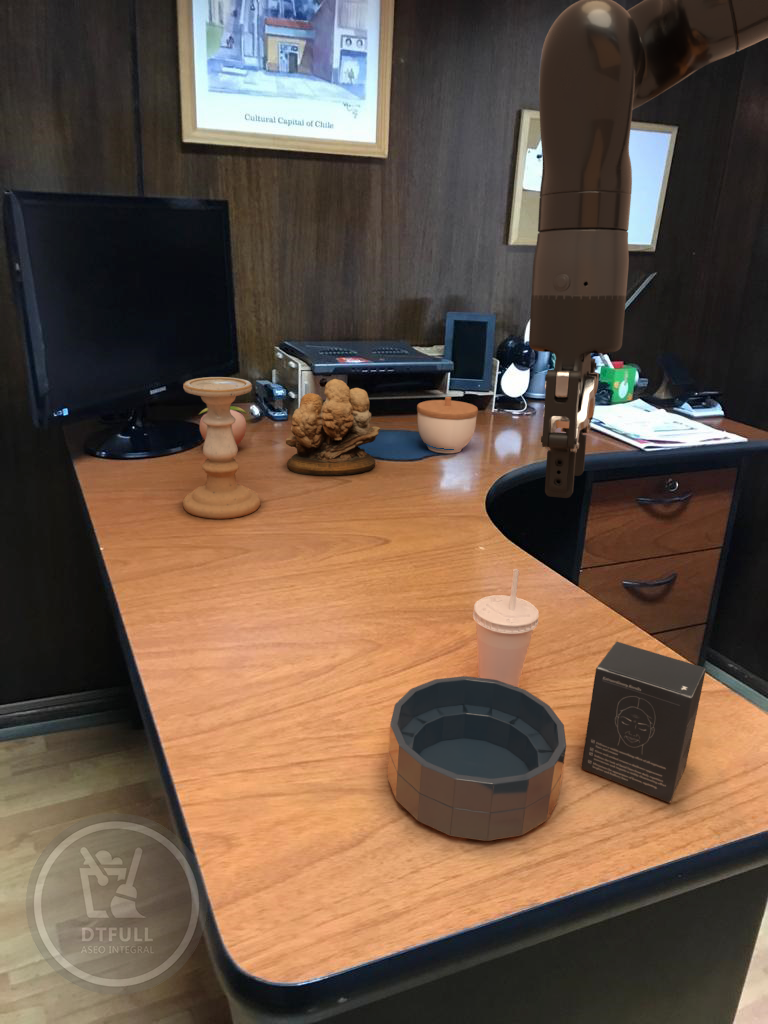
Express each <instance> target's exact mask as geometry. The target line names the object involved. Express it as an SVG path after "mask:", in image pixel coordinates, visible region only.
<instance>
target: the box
mask: <svg viewBox="0 0 768 1024" xmlns="http://www.w3.org/2000/svg"><path fill="white" fill-rule="evenodd" d="M706 671H707V669H706V667H705V666H701V665H699V664H695V663H691V662H688V661H683V660H680V659H677V658H675V657H674V658H673V657H670V656H667V655H663V654H660V653H658V652H654V651H650V650H647V649H643V648H640V647H637V646H634V645H631V644H630V645H629V644H627V643H624V642H620V641H616V642H614V644H612V647H611V648H610V649H609V650H608V652H607V653H606V654H605V656H604V657H603V659H602V660H601V661H600V662H599V664H598V665H597V666H596V668H595V673H594V678H593V684H592V685H593V687H592V692H591V700H590V706H589V707H590V708H589V713H588V718H587V726H586V734H585V741H584V747H583V753H582V760H581V769H582V770H583V771H586V772H588V773H592V774H595V775H598V776H599V777H602V778H605V779H607V780H610V781H612V782H615V783H618V784H621V785H622V786H625V787H628V788H631V789H633V790H636V791H638V792H641V793H643V794H646V795H648V796H650V797H654V798H656V799H659V800H661V801H664V802H666V803H671V802H672V800H673V798H674V795H675V793H676V791H677V788H678V786H679V784H680V781H681V779H682V776H683V775H684V773H685V769H686V768H687V762H688V758H689V753H690V749H691V744H692V739H693V733H694V729H695V726H696V725H695V724H696V719H697V715H698V711H699V710H698V709H699V705H700V700H701V695H702V692H703V691H702V690H703V687H704V681H705V676H706Z"/></svg>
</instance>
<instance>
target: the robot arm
mask: <svg viewBox="0 0 768 1024" xmlns="http://www.w3.org/2000/svg"><path fill="white" fill-rule="evenodd" d="M766 39H768V0H642V1H640V2H639V3H637V4H635V5H634V6H631V8H629V9H627V10H626V9H625V8H624V7H623V6H622V5H620V4H619V3H617V1H614V0H578V1H575V2H574V3H573V4H570V5H569V6H568V7H567V8H566V9H565V10H563V11H562V12H561V13H560V14H559V15H558V17H556V19H555V20H554V22H553V23H552V24H551V26H550V28H549V29H548V32H547V34H546V36H545V38H544V41H543V45H542V48H541V54H540V58H539V59H540V61H539V68H538V69H539V71H538V106H539V107H538V108H539V110H538V111H539V128H540V129H539V130H540V143H541V144H540V145H541V155H542V156H541V157H542V170H541V181H540V189H539V202H538V219H537V220H538V222H537V232H538V233H537V236H536V244H535V250H534V256H533V261H532V274H531V275H532V276H531V293H530V294H531V295H530V314H529V315H530V316H529V331H528V332H529V333H528V345H529V348H530V349H531V350H533V351H536V352H542V353H552V354H554V356H555V361H554V369H547V372H546V374H545V376H544V381H545V382H544V391H545V393H544V395H545V396H544V407H543V414H542V419H543V423H542V424H543V425H542V435H541V436H540V443H541V447H542V448H544V451H545V452H546V466H545V484H544V493H545V495H546V496H547V497H550V498H561V499H568V498H571V496H572V495H573V493H574V488H575V487H574V486H575V477H580V476H582V475H583V473H584V471H585V464H586V463H585V461H586V448H587V437H588V435H587V434H589V430H591V426H592V425H591V423H592V421H593V419H594V414H595V409H596V394H597V391H598V386H599V372H596V369H597V362H596V358H592V354H611V353H615V352H618V351H619V350H620V349H621V348H622V347H623V339H624V338H623V337H624V326H625V313H626V312H625V311H626V303H627V292H628V291H627V289H628V279H629V278H628V277H629V266H630V265H629V263H630V257H629V254H630V253H629V232H628V231H629V225H630V213H631V201H632V191H633V190H632V188H633V170H632V163H631V157H630V137H631V127H632V119H633V118H632V117H633V110H635V109H637V108H639V107H641V106H643V105H644V104H646V103H648V102H650V101H651V100H652V99H653V100H654V98H656V97H658V96H659V95H661V94H663V93H665V92H666V91H667V90H669V89H671V88H673V87H674V86H675V85H677V84H679V83H680V82H682V81H684V80H685V79H687V78H688V77H689V76H691V75H692V74H694V73H695V72H697V71H698V70H700V69H702V68H704V67H706V66H707V65H710V64H712V63H714V62H716V61H719V60H722V59H724V58H727V57H729V56H732V55H734V54H735V53H736V52H740V51H742V50H745V49H746V48H749V47H751V46H753V45H756V44H758V43H759V42H762V41H764V40H766ZM557 429H560V432H557V431H556V430H557Z"/></svg>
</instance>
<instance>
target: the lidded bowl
mask: <svg viewBox="0 0 768 1024" xmlns="http://www.w3.org/2000/svg"><path fill="white" fill-rule="evenodd" d="M416 412H417V414H416V415H417V416H416V417H417V418H416V423H417V431H418V434H419V437H420V439H421V441H422V442H423V443H424V444H425V443H426V444H428V445H430V446H433V447H436V448H444V449H454V450H444V449H436V448H432V447H429V446H427V449H428V450H429V451H430V452H434V453H439V454H457V453H460V452H461V451H463V450H462V449H464V448H465V447H466V446H467V445H468V444H469V443H470V441H471V440H472V438H473V437H474V434H475V430H476V426H477V418H478V417H477V416H478V414H479V409H478V407H477V406H476V405H474V404H473V403H468V402H466V401H465V402H464V401H459V400H452V397H451V396H445V398H444V399H431V400H425V401H422V402H419V403H418V404H417V405H416ZM426 444H425V445H426Z"/></svg>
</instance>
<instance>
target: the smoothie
mask: <svg viewBox="0 0 768 1024" xmlns="http://www.w3.org/2000/svg"><path fill="white" fill-rule="evenodd" d="M519 574H520V569H518V568H513V570H512V580H511V587H510V588H511V589H510V595H508V594H507V595H506V594H493V595H487V596H484V597H481V598H480V599H478V600H476V601H475V602H474V605H473V611H472V618H473V620H474V621H475V624H476V625H475V629H476V631H475V632H476V633H475V634H476V652H477V676H478V677H477V678H485V679H494V680H498V681H501V682H504V683H507V684H510V685H513V686H516V687H519V685H520V682H521V678H522V675H523V670H524V666H525V662H526V660H527V657H528V656H527V655H528V651H529V647H530V645H531V641H532V637H533V633H534V630H535V629H536V628H537V627H538V625H539V618H540V617H539V616H540V612H539V610H538V608H537V606H535V605H534V604H533V603H532V602H530V601H528V600H526V599H523V598H521V597H517V594H518V584H519V576H520V575H519Z"/></svg>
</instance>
